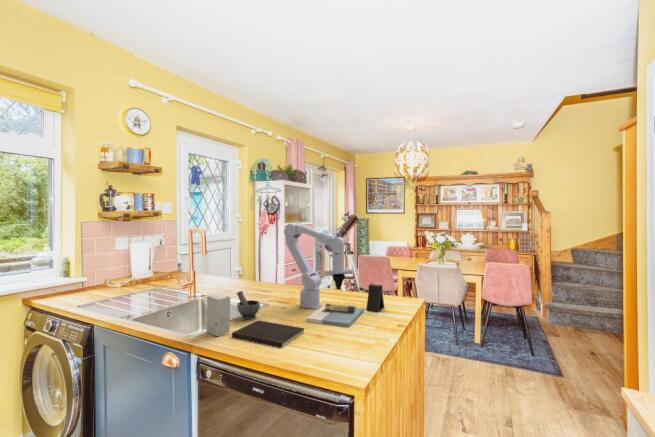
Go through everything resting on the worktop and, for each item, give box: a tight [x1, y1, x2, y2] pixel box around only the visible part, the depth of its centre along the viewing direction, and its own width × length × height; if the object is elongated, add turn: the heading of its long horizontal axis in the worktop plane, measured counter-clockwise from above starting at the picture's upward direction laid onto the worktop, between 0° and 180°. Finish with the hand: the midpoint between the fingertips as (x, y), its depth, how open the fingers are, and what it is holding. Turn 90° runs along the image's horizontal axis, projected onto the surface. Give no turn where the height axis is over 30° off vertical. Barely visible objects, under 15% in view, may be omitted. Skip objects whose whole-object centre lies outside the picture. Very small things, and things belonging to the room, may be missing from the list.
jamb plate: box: [305, 304, 333, 324], centre depth 148 cm, size 7×22×2 cm, turn 158°
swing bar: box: [325, 303, 356, 312], centre depth 149 cm, size 14×3×2 cm, turn 75°
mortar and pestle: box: [236, 290, 261, 321], centre depth 144 cm, size 11×9×12 cm
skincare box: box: [205, 293, 231, 337], centre depth 127 cm, size 8×6×15 cm
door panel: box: [322, 304, 364, 328], centre depth 144 cm, size 12×22×3 cm, turn 158°
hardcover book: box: [231, 320, 305, 348], centre depth 124 cm, size 16×23×2 cm
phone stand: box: [365, 283, 385, 313], centre depth 157 cm, size 9×6×12 cm, turn 149°
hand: (338, 289), depth 157 cm, fingers closed
